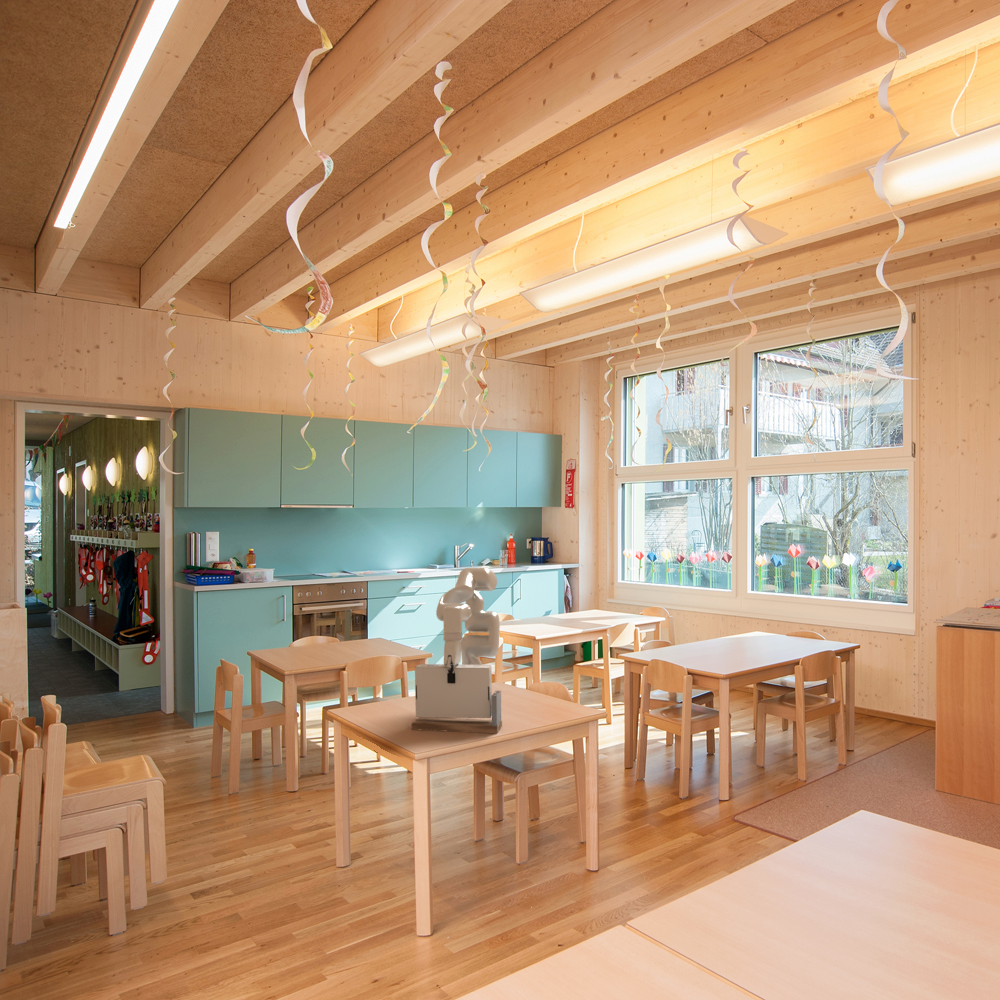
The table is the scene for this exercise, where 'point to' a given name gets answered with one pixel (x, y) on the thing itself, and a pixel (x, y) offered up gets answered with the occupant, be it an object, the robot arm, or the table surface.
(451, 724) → the shelf
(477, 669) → the packaging
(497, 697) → the bookend
